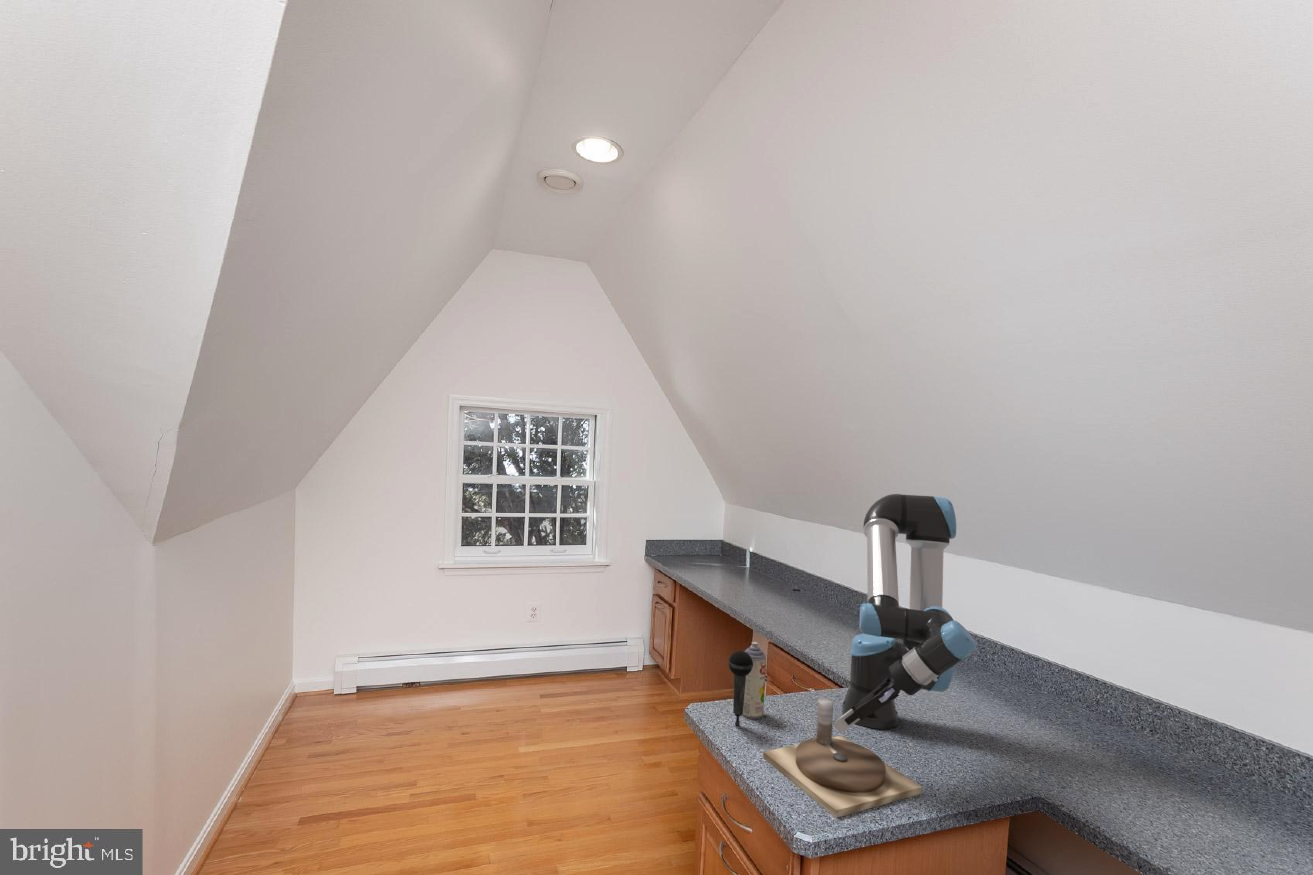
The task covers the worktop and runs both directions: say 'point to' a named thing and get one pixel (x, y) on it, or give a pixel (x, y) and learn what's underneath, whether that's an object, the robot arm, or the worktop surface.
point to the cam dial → (838, 758)
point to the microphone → (739, 679)
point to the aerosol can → (755, 684)
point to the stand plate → (839, 799)
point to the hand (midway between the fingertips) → (837, 727)
